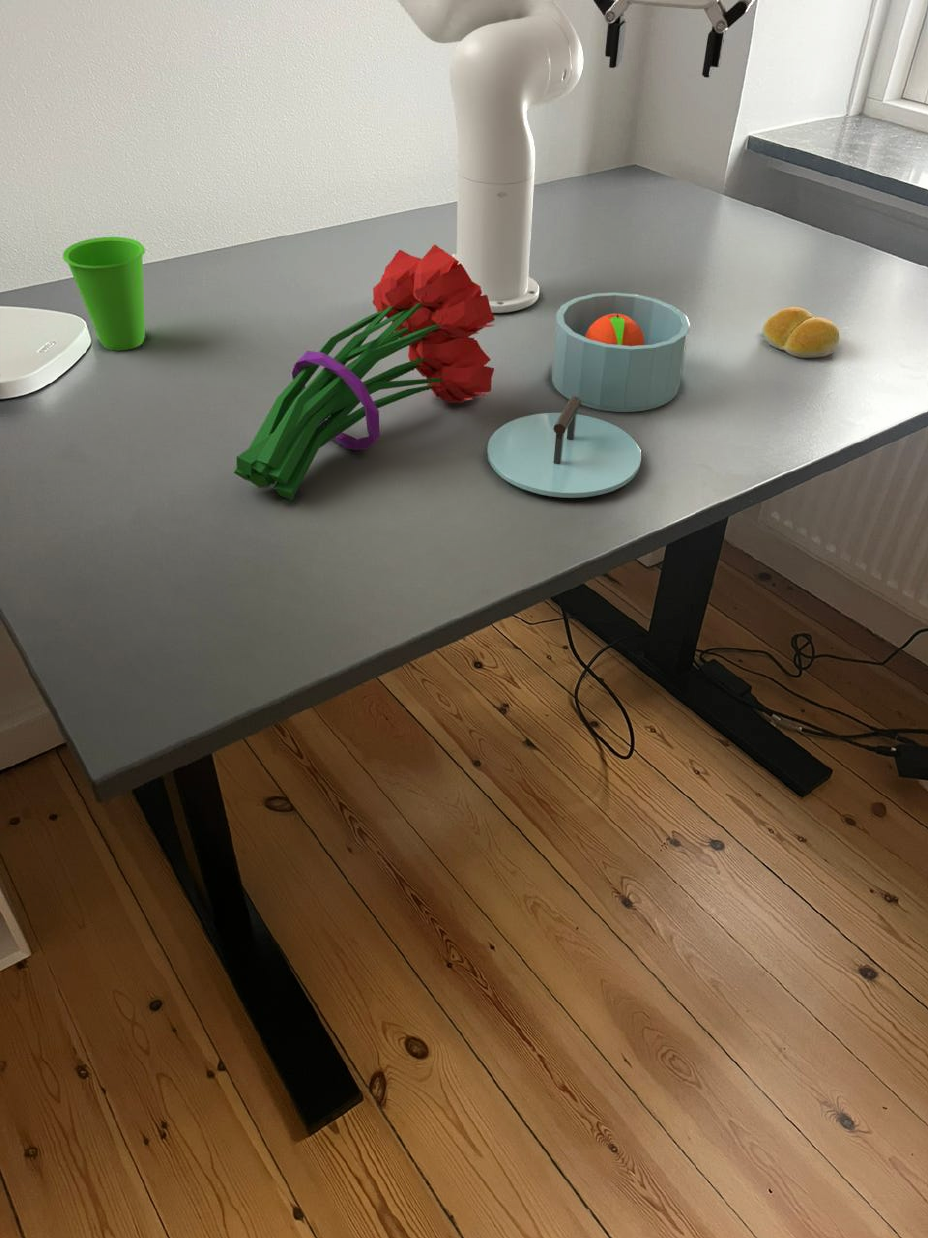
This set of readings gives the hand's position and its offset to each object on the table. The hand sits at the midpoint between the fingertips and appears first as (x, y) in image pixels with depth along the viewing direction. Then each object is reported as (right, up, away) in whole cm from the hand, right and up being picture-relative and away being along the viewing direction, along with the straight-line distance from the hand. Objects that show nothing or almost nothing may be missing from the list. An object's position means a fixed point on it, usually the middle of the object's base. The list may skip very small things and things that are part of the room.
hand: (660, 69), depth 105 cm
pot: (-3, -29, +12) cm, 32 cm away
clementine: (-3, -29, +12) cm, 32 cm away
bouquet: (-30, -39, +1) cm, 49 cm away
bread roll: (+21, -23, +21) cm, 37 cm away
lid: (-10, -40, -2) cm, 41 cm away
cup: (-62, -23, +18) cm, 68 cm away
